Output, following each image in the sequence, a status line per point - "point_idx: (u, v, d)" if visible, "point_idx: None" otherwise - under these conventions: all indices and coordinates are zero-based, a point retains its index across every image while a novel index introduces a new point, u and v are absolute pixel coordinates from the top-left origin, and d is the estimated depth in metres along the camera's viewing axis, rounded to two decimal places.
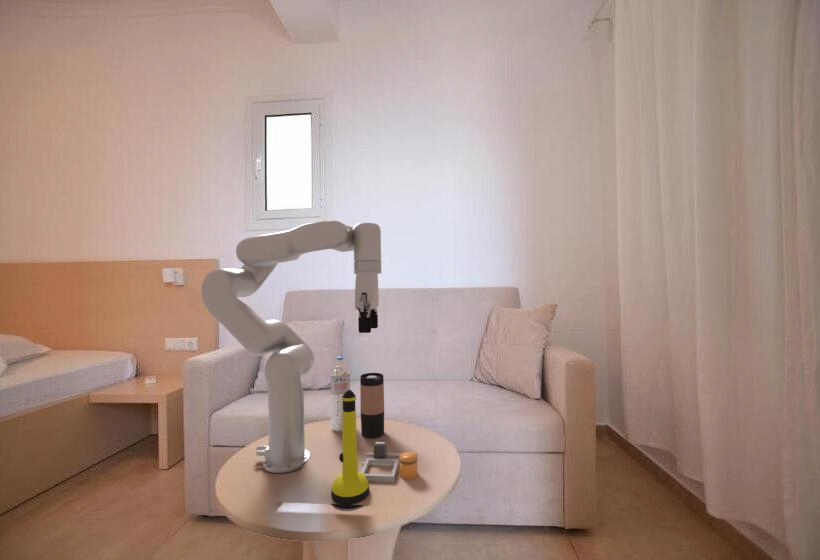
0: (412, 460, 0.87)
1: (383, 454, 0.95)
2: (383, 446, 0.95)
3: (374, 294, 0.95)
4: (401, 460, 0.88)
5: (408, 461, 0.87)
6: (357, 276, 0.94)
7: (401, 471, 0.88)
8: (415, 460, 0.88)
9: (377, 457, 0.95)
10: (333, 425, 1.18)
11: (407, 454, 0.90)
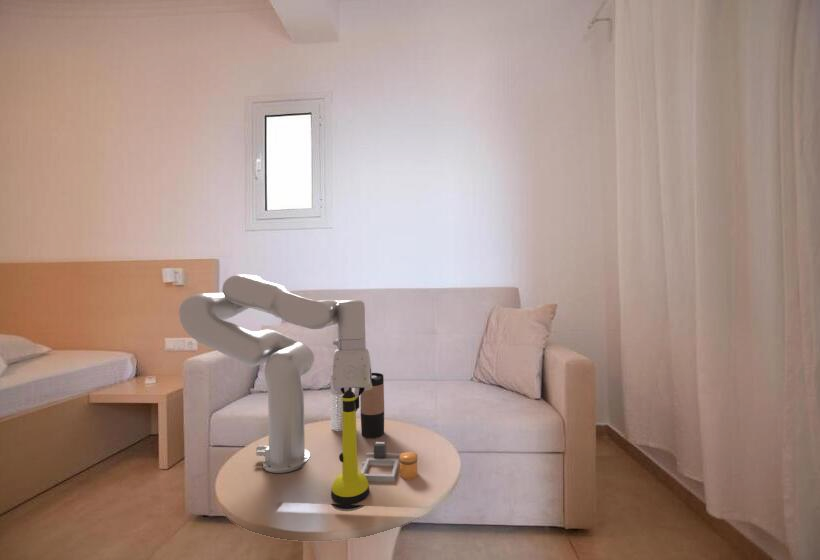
0: (412, 460, 0.87)
1: (383, 454, 0.95)
2: (383, 446, 0.95)
3: None
4: (401, 460, 0.88)
5: (408, 461, 0.87)
6: (366, 354, 0.96)
7: (401, 471, 0.88)
8: (415, 460, 0.88)
9: (377, 457, 0.95)
10: (333, 425, 1.18)
11: (407, 454, 0.90)
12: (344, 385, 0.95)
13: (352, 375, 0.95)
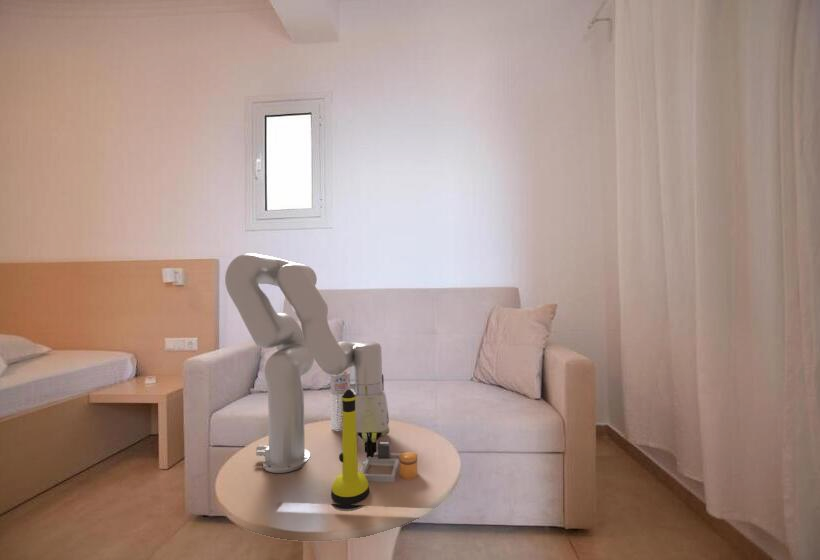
0: (412, 460, 0.87)
1: (387, 454, 0.95)
2: (387, 446, 0.95)
3: None
4: (401, 460, 0.88)
5: (408, 461, 0.87)
6: (383, 398, 0.95)
7: (401, 471, 0.88)
8: (415, 460, 0.88)
9: (381, 457, 0.95)
10: (333, 425, 1.18)
11: (407, 454, 0.90)
12: (362, 430, 0.95)
13: (370, 420, 0.94)
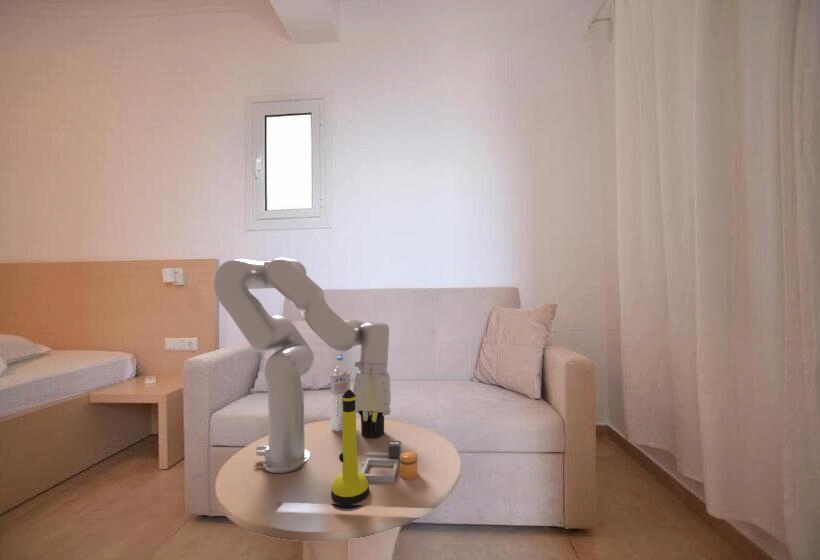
0: (412, 460, 0.87)
1: (398, 454, 0.95)
2: (398, 446, 0.95)
3: None
4: (401, 460, 0.88)
5: (408, 461, 0.87)
6: (387, 379, 0.95)
7: (401, 471, 0.88)
8: (415, 460, 0.88)
9: (392, 457, 0.95)
10: (333, 425, 1.18)
11: (407, 454, 0.90)
12: (363, 408, 0.95)
13: (372, 399, 0.94)
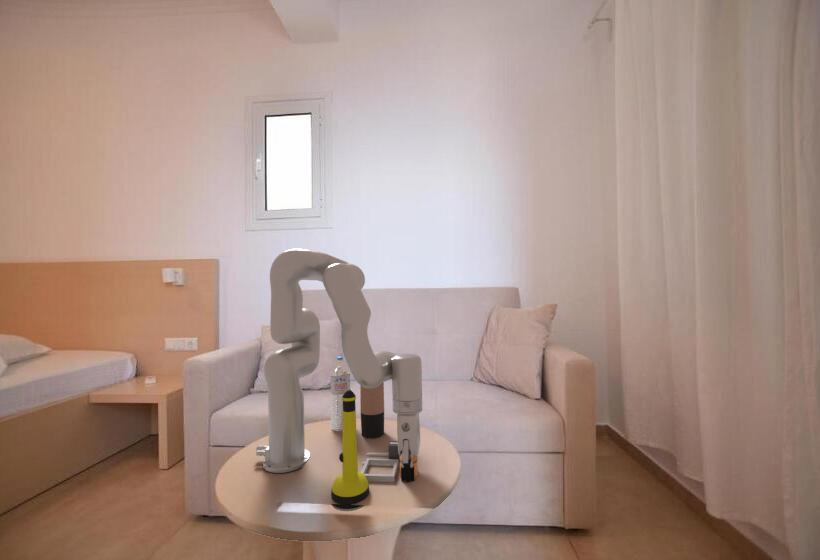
0: None
1: (398, 454, 0.95)
2: None
3: None
4: None
5: None
6: None
7: None
8: (415, 460, 0.88)
9: (392, 457, 0.95)
10: (333, 425, 1.18)
11: None
12: None
13: (419, 434, 0.89)
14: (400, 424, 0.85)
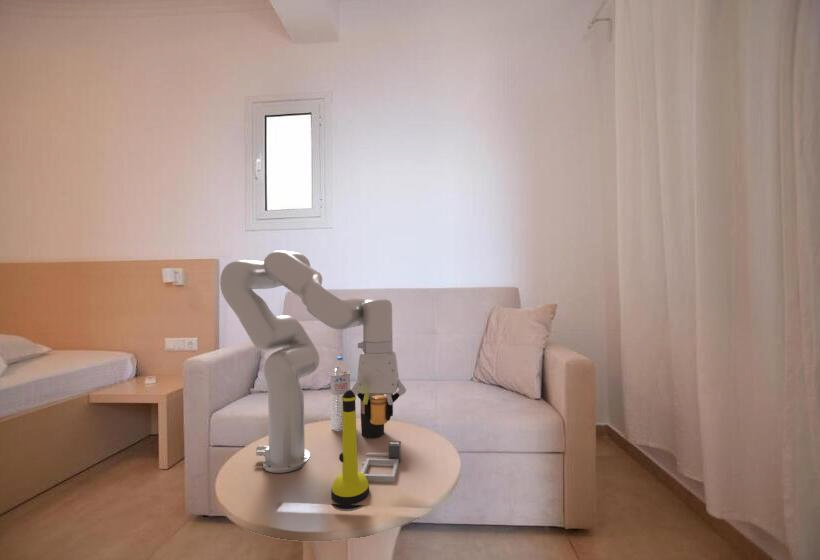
0: (370, 400, 0.90)
1: (398, 454, 0.95)
2: (398, 446, 0.95)
3: None
4: None
5: (370, 399, 0.91)
6: (393, 357, 0.89)
7: None
8: (372, 402, 0.89)
9: (392, 457, 0.95)
10: (333, 425, 1.18)
11: (381, 397, 0.91)
12: (370, 391, 0.88)
13: (379, 380, 0.88)
14: None
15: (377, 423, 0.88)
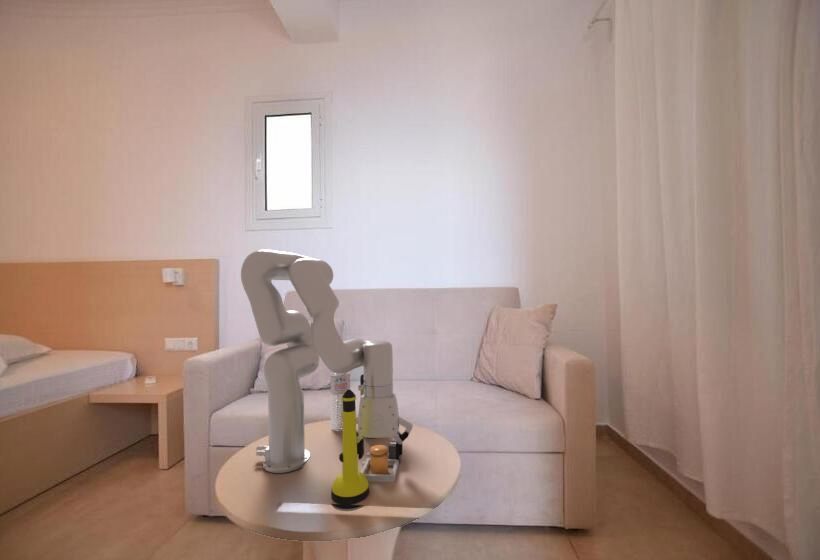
0: (370, 451, 0.89)
1: None
2: None
3: None
4: None
5: (370, 450, 0.90)
6: (394, 401, 0.88)
7: None
8: (372, 454, 0.89)
9: (392, 457, 0.95)
10: (333, 425, 1.18)
11: (381, 448, 0.91)
12: (370, 435, 0.88)
13: (379, 424, 0.88)
14: None
15: None
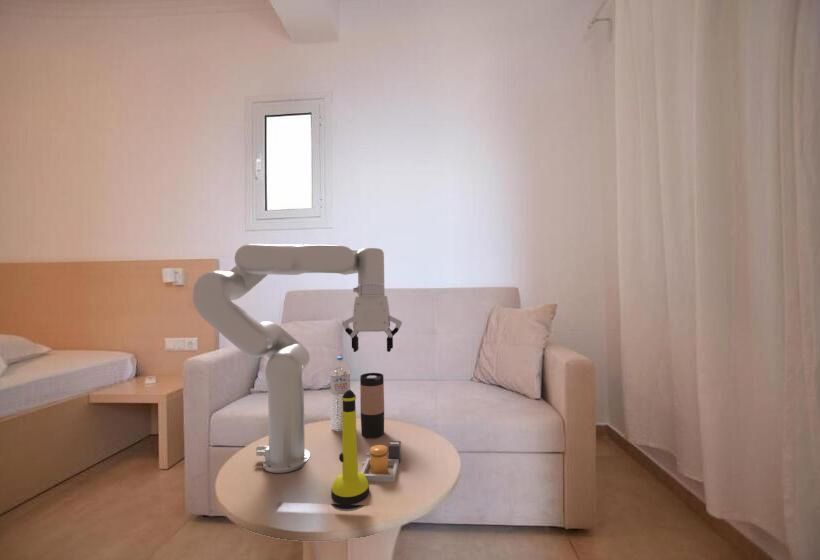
0: (370, 451, 0.89)
1: (398, 454, 0.95)
2: (398, 446, 0.95)
3: None
4: None
5: (370, 450, 0.90)
6: (385, 299, 0.99)
7: None
8: (372, 454, 0.89)
9: (392, 457, 0.95)
10: (333, 425, 1.18)
11: (381, 448, 0.91)
12: (364, 328, 0.99)
13: (372, 319, 0.99)
14: None
15: None
